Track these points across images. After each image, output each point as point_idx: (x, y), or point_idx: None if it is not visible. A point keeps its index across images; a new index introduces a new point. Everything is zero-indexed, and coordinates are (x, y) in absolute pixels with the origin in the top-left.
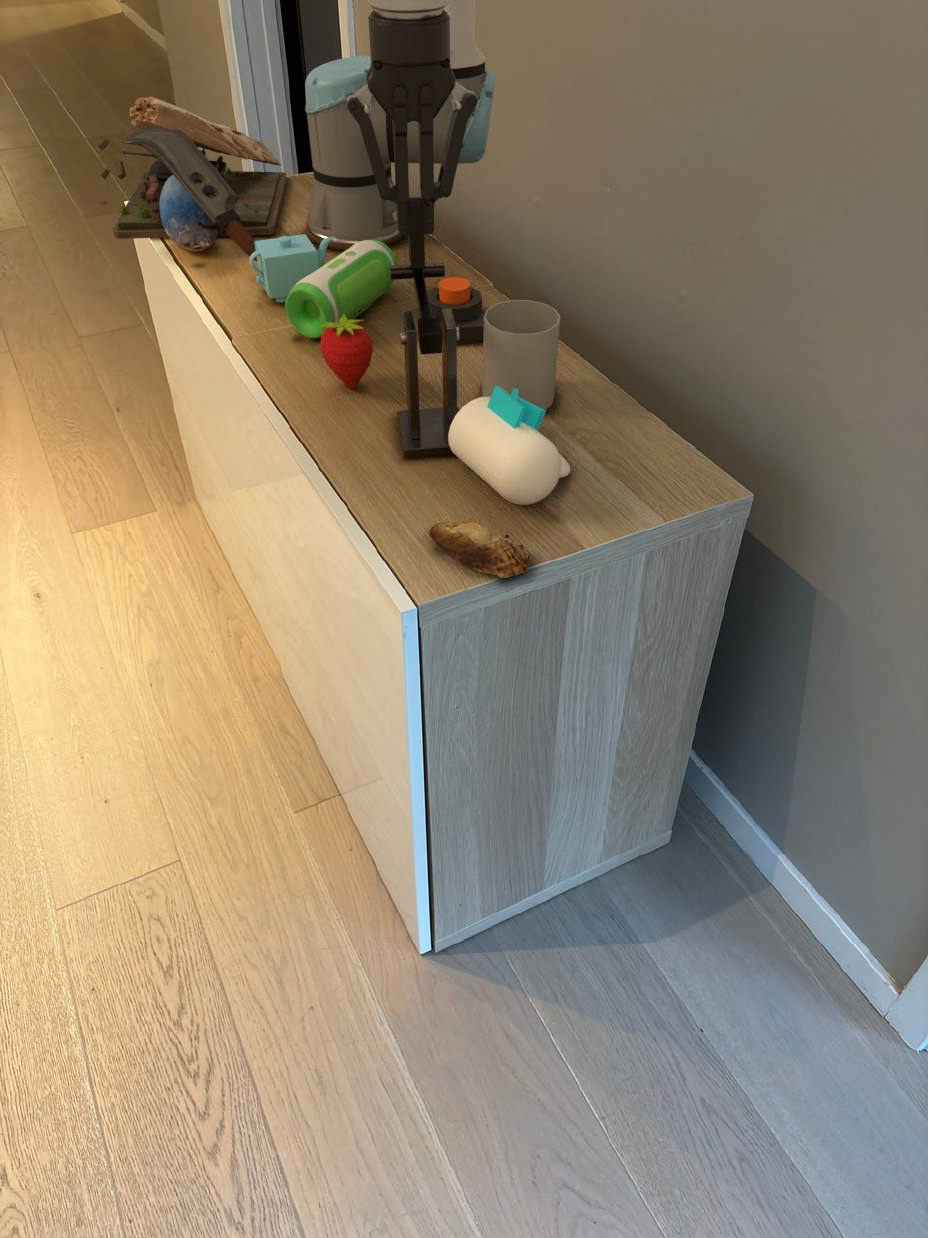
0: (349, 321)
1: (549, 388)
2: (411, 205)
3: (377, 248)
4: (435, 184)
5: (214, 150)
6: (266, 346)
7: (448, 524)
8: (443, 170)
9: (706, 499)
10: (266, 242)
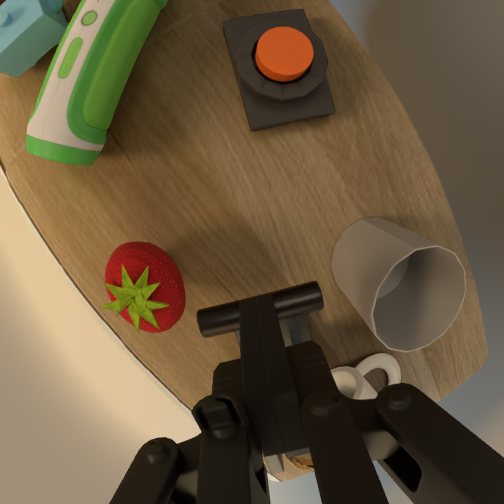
0: (139, 291)
1: (410, 286)
2: (270, 446)
3: None
4: (368, 446)
5: None
6: (38, 178)
7: (303, 466)
8: (413, 493)
9: (470, 371)
10: None
